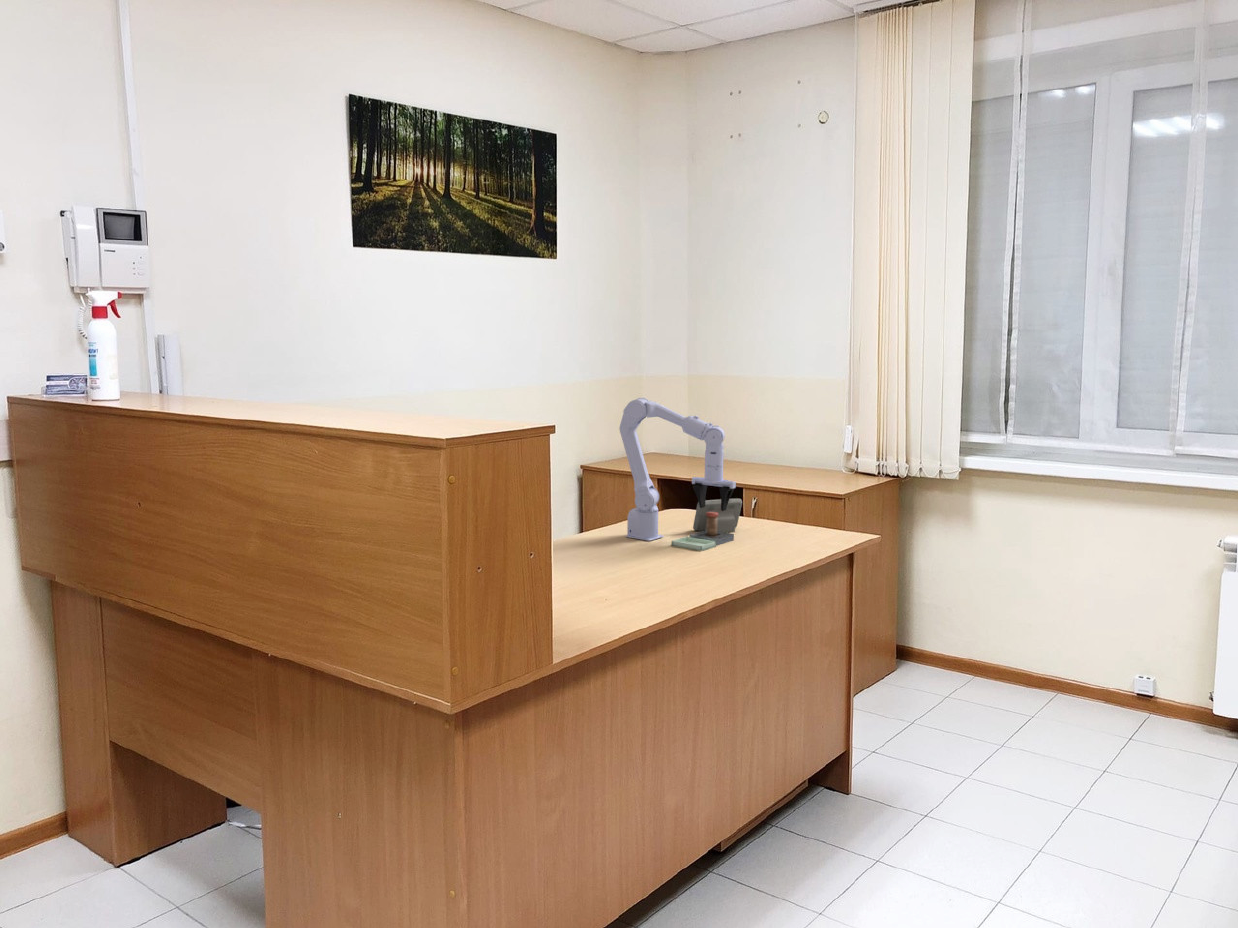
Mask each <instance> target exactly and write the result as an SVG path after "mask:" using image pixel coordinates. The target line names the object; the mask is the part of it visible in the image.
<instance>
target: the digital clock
mask: <svg viewBox="0 0 1238 928" xmlns="http://www.w3.org/2000/svg"><path fill="white" fill-rule="evenodd" d="M742 505H743V501H742V499H741V498H730V499H729V502H728V505H727V509H726V510H725V511H721V499H709V500H707V499H705V507H703V508H700V506H699V501H697V504H696V509H695V515H694V520H693V526H692V529H693V530H694V531H696V532H697V531H698V532H701V531H704V530H707V516H706V513H707V512H717V513H718V516H717V531H719V532H725V533H726V532H728V533H735V532H736V528H737V526H738V524H739V519H740V515H741V510H742V509H741V508H742Z"/></svg>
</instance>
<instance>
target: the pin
mask: <svg viewBox="0 0 1238 928" xmlns="http://www.w3.org/2000/svg"><path fill="white" fill-rule="evenodd" d="M706 516H707V535H708V536H717V516H718V513H717V512H707V513H706Z"/></svg>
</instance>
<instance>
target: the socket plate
mask: <svg viewBox="0 0 1238 928" xmlns="http://www.w3.org/2000/svg"><path fill="white" fill-rule="evenodd" d="M689 537H692V538H698V539H703V540H709V541H715V542H716V547H717V546H720V545H723V544H727V543H729V542H731V541H735V534H734V533H732V532H728V533H725V532H719V531H717V536H708V535H707V530H704V531H698V532H697V531H696V532H693V533H691V534H689Z"/></svg>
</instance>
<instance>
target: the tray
mask: <svg viewBox="0 0 1238 928" xmlns="http://www.w3.org/2000/svg"><path fill="white" fill-rule="evenodd" d="M671 547H676V548H681V549H686V550H694V551H698V552H702V551H706V550H710V549H712V548H716V547H717V546H716V542H715V541H709V540H703V539H698V538H692V537H690V536H684V537H680V538H677V539H674V540H671Z"/></svg>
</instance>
